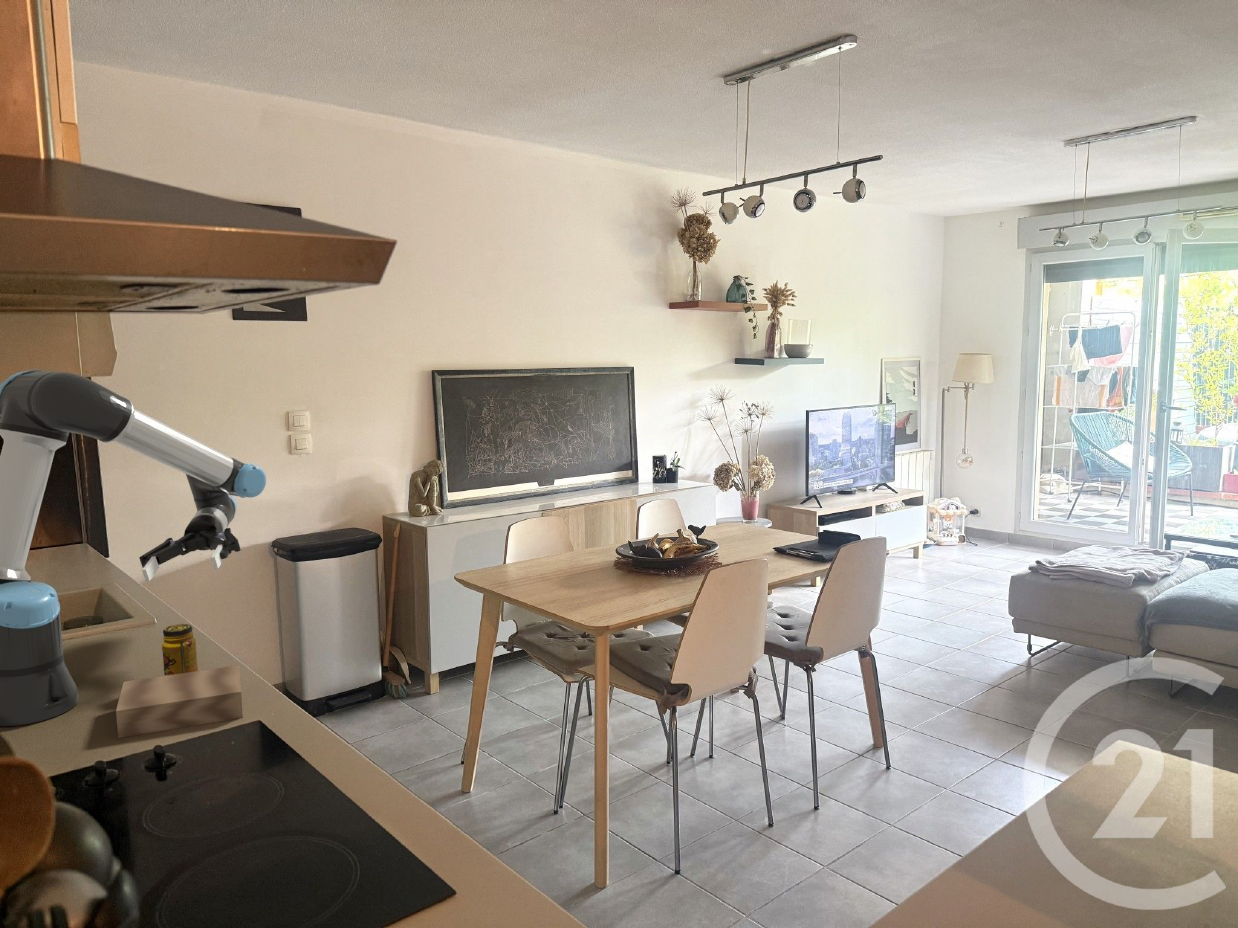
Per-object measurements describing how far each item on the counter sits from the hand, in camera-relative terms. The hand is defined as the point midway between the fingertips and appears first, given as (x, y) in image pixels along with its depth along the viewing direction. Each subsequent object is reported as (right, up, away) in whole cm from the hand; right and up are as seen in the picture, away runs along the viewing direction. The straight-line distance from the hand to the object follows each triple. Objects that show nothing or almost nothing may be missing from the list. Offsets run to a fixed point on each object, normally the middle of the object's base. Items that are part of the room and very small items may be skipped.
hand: (180, 569), depth 180 cm
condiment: (+3, -23, -4) cm, 23 cm away
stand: (+9, -25, -17) cm, 32 cm away
